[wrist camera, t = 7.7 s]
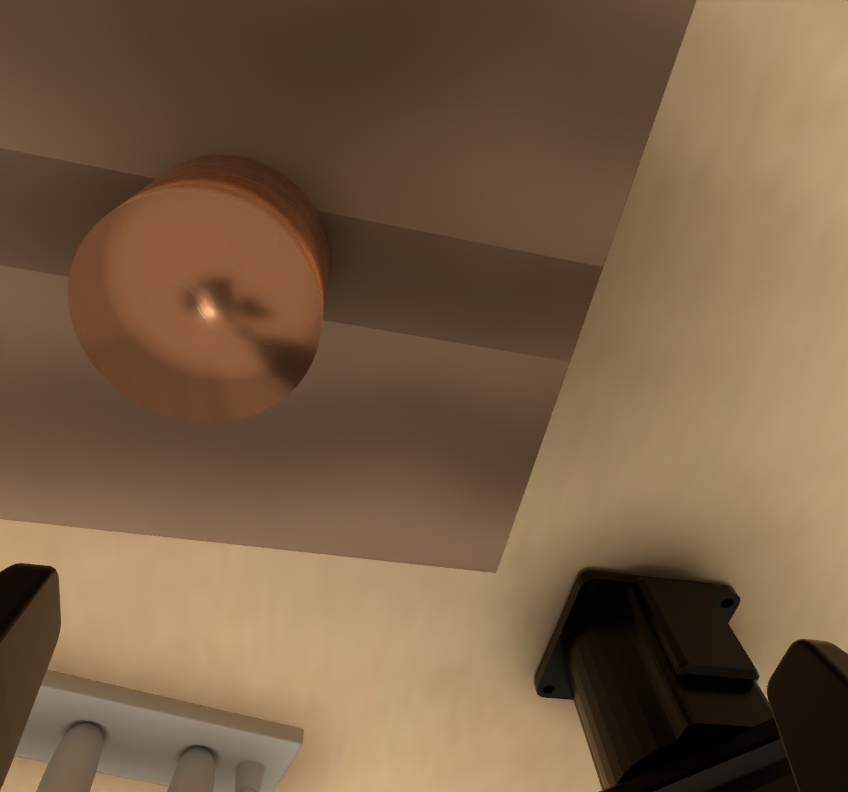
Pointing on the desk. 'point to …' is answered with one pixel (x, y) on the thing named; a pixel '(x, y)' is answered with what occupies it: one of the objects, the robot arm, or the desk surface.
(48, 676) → the test tube rack
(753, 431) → the desk surface
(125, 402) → the press housing
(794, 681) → the robot arm
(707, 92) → the desk surface
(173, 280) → the plunger
